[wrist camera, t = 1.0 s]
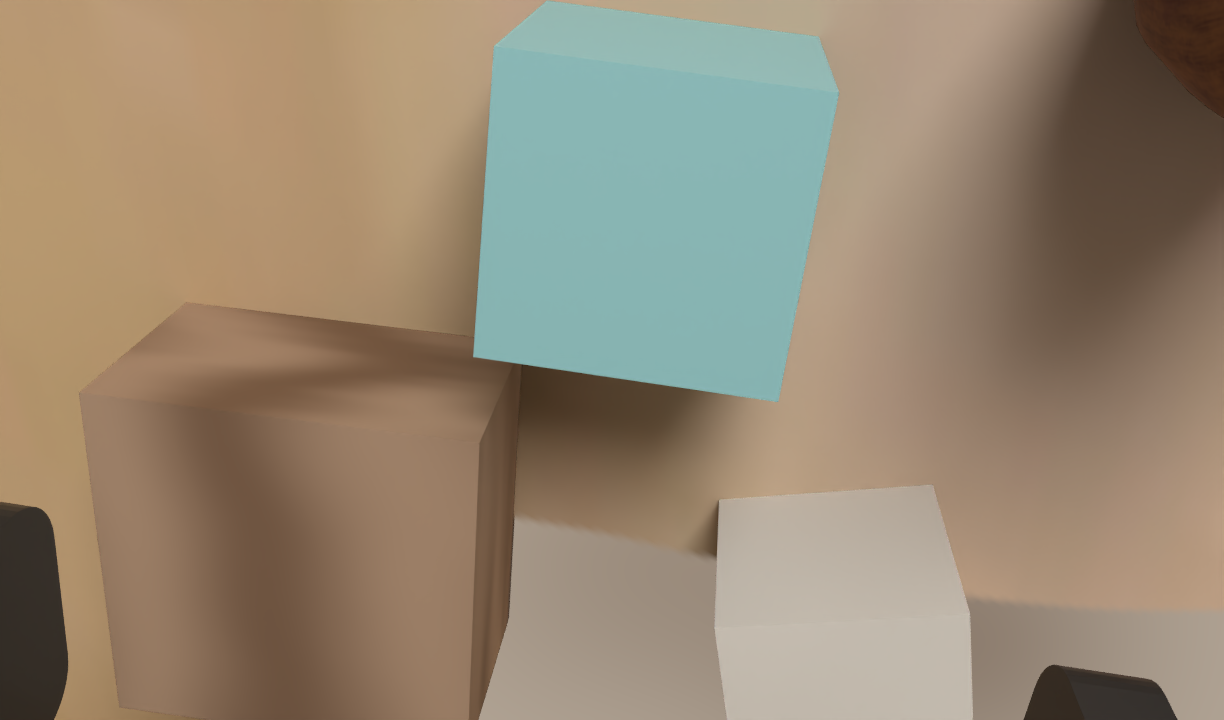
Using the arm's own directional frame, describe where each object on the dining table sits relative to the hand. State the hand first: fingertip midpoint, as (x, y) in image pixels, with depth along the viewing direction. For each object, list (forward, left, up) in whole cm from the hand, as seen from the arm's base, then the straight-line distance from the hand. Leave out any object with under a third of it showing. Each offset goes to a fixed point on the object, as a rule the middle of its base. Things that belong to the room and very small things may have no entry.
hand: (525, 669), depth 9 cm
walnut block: (+6, +9, -17) cm, 20 cm away
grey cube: (-6, +10, -17) cm, 20 cm away
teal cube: (0, 0, -17) cm, 17 cm away
